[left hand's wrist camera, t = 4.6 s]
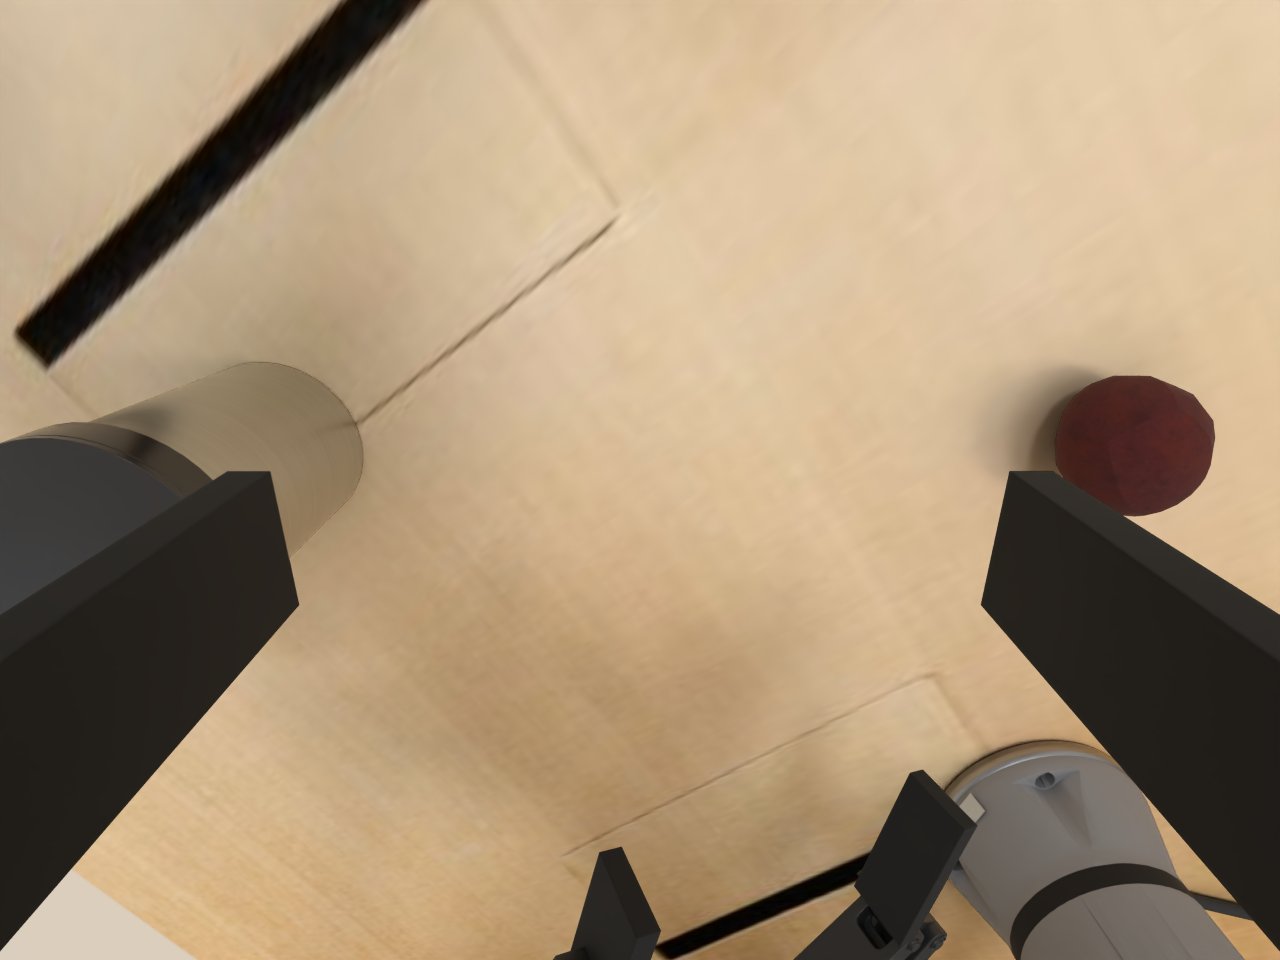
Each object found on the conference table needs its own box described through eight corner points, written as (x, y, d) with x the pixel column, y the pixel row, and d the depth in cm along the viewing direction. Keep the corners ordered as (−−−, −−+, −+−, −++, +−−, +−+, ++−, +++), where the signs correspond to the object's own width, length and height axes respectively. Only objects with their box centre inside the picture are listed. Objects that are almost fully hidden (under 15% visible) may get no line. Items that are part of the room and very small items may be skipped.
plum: (1056, 505, 42) (1132, 559, 36) (1008, 405, 40) (1079, 443, 34) (1173, 443, 41) (1274, 488, 34) (1130, 335, 39) (1230, 361, 32)
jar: (321, 550, 44) (172, 708, 30) (166, 466, 42) (-71, 595, 28) (392, 424, 41) (263, 535, 27) (229, 327, 39) (-3, 393, 25)
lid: (200, 695, 32) (171, 726, 30) (-47, 578, 29) (-95, 604, 27) (297, 515, 28) (272, 537, 26) (26, 367, 26) (-23, 380, 24)
